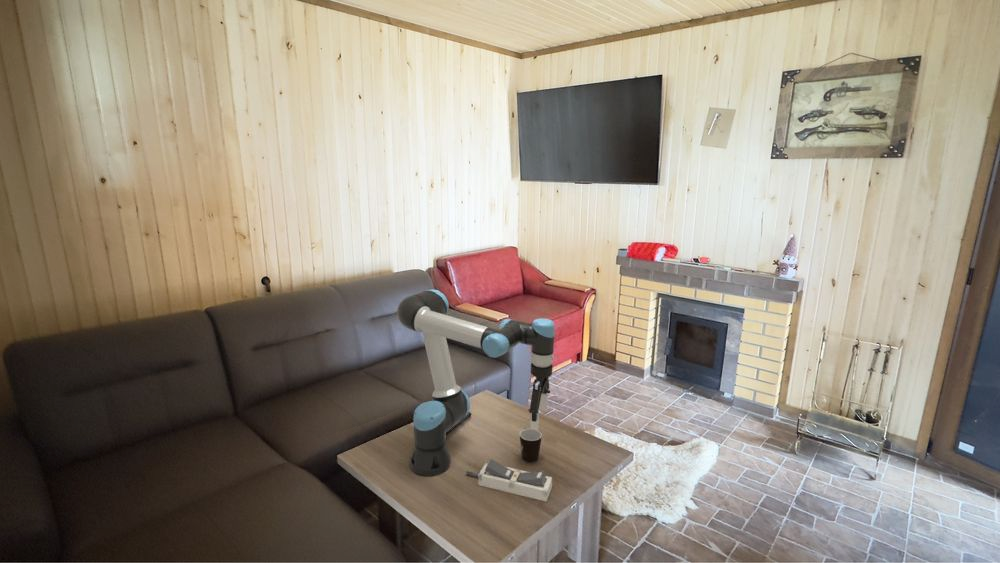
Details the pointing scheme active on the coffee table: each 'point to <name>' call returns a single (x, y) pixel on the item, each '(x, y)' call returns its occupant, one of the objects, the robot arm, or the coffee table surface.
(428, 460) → the robot arm
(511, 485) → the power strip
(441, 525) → the coffee table surface
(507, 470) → the rocker
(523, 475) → the rocker
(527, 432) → the coffee mug
